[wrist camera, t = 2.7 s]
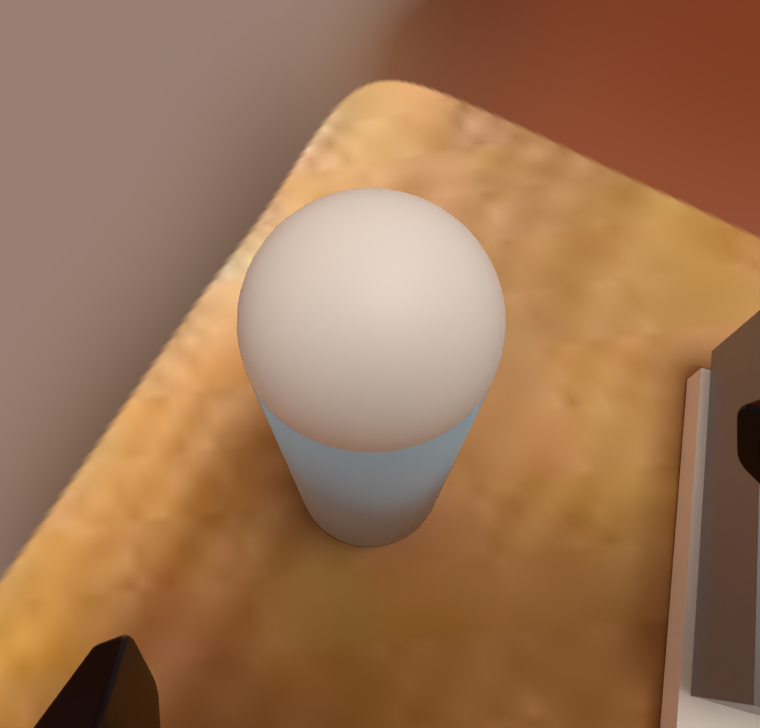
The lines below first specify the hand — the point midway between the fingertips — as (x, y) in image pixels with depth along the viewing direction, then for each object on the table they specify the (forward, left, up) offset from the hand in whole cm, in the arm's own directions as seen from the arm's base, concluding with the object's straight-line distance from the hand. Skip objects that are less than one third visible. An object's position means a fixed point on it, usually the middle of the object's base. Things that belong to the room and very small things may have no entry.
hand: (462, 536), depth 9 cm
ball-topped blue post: (+3, +2, -11) cm, 11 cm away
